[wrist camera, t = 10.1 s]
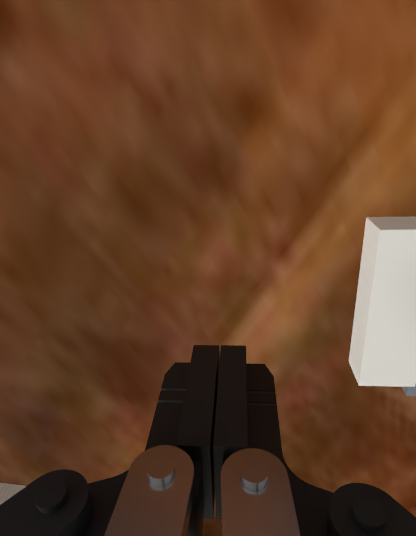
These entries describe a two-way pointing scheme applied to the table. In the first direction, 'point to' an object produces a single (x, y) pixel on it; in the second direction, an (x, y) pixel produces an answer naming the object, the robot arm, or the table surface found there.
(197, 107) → the table surface
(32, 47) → the table surface
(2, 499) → the beige open box
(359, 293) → the t block
